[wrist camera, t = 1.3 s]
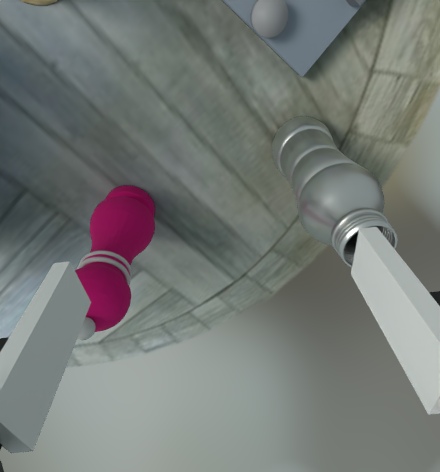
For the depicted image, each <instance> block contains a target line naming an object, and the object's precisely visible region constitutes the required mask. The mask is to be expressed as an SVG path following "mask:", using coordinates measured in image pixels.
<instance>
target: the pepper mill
mask: <svg viewBox="0 0 440 472" xmlns="http://www.w3.org/2000/svg"><path fill="white" fill-rule="evenodd" d="M154 214H155V205H154V202H153V200H152V198H151V197H150V196H149V195H148V194H147V193H146V192H145V191H143V190H142V189H140V188H137V187H134V186H127V185H126V186H120V187H117V188H115V189H113V190H112V191H111V192H110V193H109V194H108V196H107V197H106V199H105V200H104V201H102V202H101V203H100V204H99V205H98V206H97V207H96V209H95V210H94V212H93V215H92V217H91V222H90V234H91V239H92V249H91V252H90V253H88V254H86V255H85V256H84V257H83V258H82V259H81V261H80V263H79V265H78V267H77V269H76V270H75V272H76V274H77V276H78V278H79V280H80V282H81V284H82V286H83V288H84V290H85V291H86V293H87V295H88V297H89V299H90V301H91V304H90V307H89V309H88V312H87V314H86V317H85V320H84V322H83V325H82V327H81V330H80V332H79V335H78V337H77V339H78V340H86V339H89V338H90V337H91V336H92V335H93V334H94V332H97V331H103V330H106V329H109V328H111V327H113V326H115V325H116V324H117V323H119V322H120V321H121V320H122V319H123V317H124V316H125V314H126V313H127V311H128V308H129V306H130V301H131V291H130V288H129V285H130V280H131V278H132V269H131V266H130V265H131V263H132V260H133V259H134V257H135V256H136V255H138V254H139V253H140V252H142V251H143V250H144V249H145V248H146V247H147V246H148V244H149V243H150V241H151V239H152V237H153V234H154V230H155V222H154Z"/></svg>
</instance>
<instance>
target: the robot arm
mask: <svg viewBox="0 0 440 472" xmlns="http://www.w3.org/2000/svg"><path fill="white" fill-rule="evenodd" d="M351 275H352V277H353V279H354V281H355V283H356V284H357V286H358V288H359V290H360V292H361V293H362V295H363V297H364V299H365V301H366V302H367V304H368V306H369V308H370V310H371V311H372V313H373V315H374V316H375V319H376V321H377V322H378V324H379V326H380V328H381V329H382V331H383V333H384V335H385V337H386V338H387V340H388V342H389V344H390V346H391V348H392V349H393V351H394V353H395V355H396V357H397V358H398V360H399V362H400V364H401V366H402V367H403V369H404V371H405V373H406V375H407V376H408V378H409V380H410V382H411V384H412V385H413V387H414V389H415V391H416V393H417V394H418V396H419V398H420V400H421V402H422V404H423V405H424V407H425V409H426V411H427V413H428V414H429V415H430V414H440V291H439V292H428V291H427V290H426V288H425V287H424V286H423V285H422V283H421V282H420V281H419V280H418V278H417V277H416V276H415V275H414V273H413V272H412V271H411V269H410V268H409V267H408V266H407V264H406V263H405V262H404V261H403V259H402V258H401V257H400V256H399V255H398V253H397V252H396V251H395V249H394V248H393V247H392V246H391V244H390V243H389V242H388V241H387V239H386V238H385V237H384V235H383V234H382V233H381V232H380V230H379V229H378V228H377V227H370V228H361V229H359V232H358V238H357V243H356V249H355V254H354V260H353V265H352V271H351ZM90 304H91V301H90V299H89V297H88V295H87V293H86V291H85V290H84V288H83V286H82V284H81V282H80V280H79V278H78V276H77V274H76V272H75V270H74V268H73V266H72V264H71V262H70V261H69V262H61V263H54V264H53V265H52V267H51V269H50V270H49V272H48V274H47V275H46V277H45V279H44V280H43V282H42V284H41V285H40V287H39V289H38V290H37V292H36V294H35V295H34V297H33V299H32V300H31V302H30V304H29V305H28V307H27V309H26V310H25V312H24V314H23V315H22V317H21V319H20V320H19V322H18V324H17V325H16V327H15V329H14V330H13V332H12V334H11V335H10V337H9V338H1V339H0V449H1V447H2V446H3V447H4V448H5V449H6V450H8V451H9V452H10V453H19V452H29V451H33V450H34V447H35V445H36V442H37V440H38V437H39V435H40V432H41V429H42V427H43V424H44V421H45V419H46V417H47V414H48V412H49V409H50V406H51V404H52V401H53V399H54V396H55V394H56V391H57V389H58V386H59V383H60V381H61V378H62V376H63V373H64V371H65V368H66V366H67V363H68V360H69V358H70V355H71V353H72V350H73V348H74V345H75V343H76V340H77V337H78V335H79V332H80V330H81V327H82V325H83V322H84V320H85V317H86V314H87V312H88V309H89V307H90ZM0 472H4V471H3V467H2V463H1V461H0Z"/></svg>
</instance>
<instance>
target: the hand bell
mask: <svg viewBox="0 0 440 472" xmlns="http://www.w3.org/2000/svg"><path fill="white" fill-rule="evenodd" d="M20 1H22V2H25V3H28V4H32V5H48V4H52V3H54V2H56V1H58V0H20Z"/></svg>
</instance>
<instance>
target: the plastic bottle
mask: <svg viewBox="0 0 440 472" xmlns="http://www.w3.org/2000/svg"><path fill="white" fill-rule="evenodd" d="M272 156H273V161H274V164H275V166H276V167H277V169H278V170H279V171H280V172H281V173H282V175H283V176H285V177H286V178H287V180H288V181H289V183H290V184H291V186H292V188H293V191H294V194H295V198H296V203H297V208H298V213H299V217H300V220H301V223H302V225H303V227H304V229H305V230H306V231H307V232H308V233H309V234H310V235H311V236H312V237H313V238H315V239H316V240H318V241H320V242H322V243H325V244H329V245H332V246H333V248H334V249H335V251H336V252H337V253H338V254H339V255H340V257H341V258H342V260H343V261H344V263H345V264H346V265H348V266H349V267H351V268H352V265H353V260H354V254H355V249H356V243H357V238H358V232H359V229H361V228H370V227H377V228H378V229H379V230H380V232H381V233H382V234H383V235H384V237H385V238H386V239H387V241H388V242H389V243H390V244H391V246H392V247H393V248H394V249H396V247H397V243H398V237H397V234H396V232H395V230H394V229H393V227H392V226H391V225H390V224H389V222H388V220H387V218H386V217H385V216H384V215H383V214H382V213H383V207H384V195H383V192H382V189H381V186H380V183H379V181H378V180H377V178H376V177H375V176H374V175H373V174H372V173H371V172H369V171H368V170H367V169H366V168H364V167H362V166H360V165H359V164H357V163H355V162H354V161H352V160H350V159H349V158H347V157H346V156H345V155H344V154H343V153H341V152H340V151H339V150H338V148H337V147H336V145H335V143H334V141H333V138H332V136H331V134H330V132H329V130H328V128H327V127H326V126H325V125H324V124H323V123H322V122H320V121H319V120H317V119H314V118H311V117H307V116H300V117H295V118H293V119H290V120H289V121H287V122H286V123H284V124H283V125H282V126H281V127H280V128H279V130H278V131H277V133H276V135H275V137H274V140H273V144H272Z"/></svg>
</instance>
